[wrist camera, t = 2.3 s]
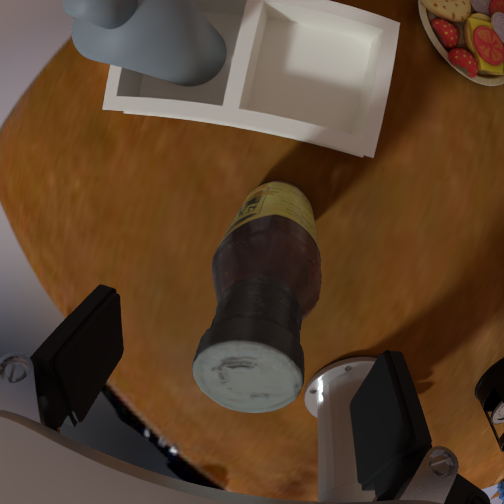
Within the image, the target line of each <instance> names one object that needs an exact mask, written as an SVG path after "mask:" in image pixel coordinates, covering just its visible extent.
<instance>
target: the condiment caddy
mask: <svg viewBox="0 0 504 504" xmlns="http://www.w3.org/2000/svg"><path fill="white" fill-rule="evenodd" d="M63 8H64V11H65V12H66V14H68V15H70V16H73V17H74V18H73V22H72V39H73V42H74V45H75V47H76V49H77V50H78V51H79V53H81V54H82V55H83V56H84V57H86V58H88V59H91V60H94V61H98V62H102V63H107V64H111V65H110V70H109V75H108V80H107V86H106V91H105V97H104V103H103V110H118V111H124V113H127V114H140V115H151V116H161V117H170V118H178V119H186V120H193V121H200V122H207V123H214V124H220V125H226V126H232V127H237V128H243V129H248V130H253V131H258V132H263V133H268V134H273V135H278V136H282V137H287V138H291V139H295V140H299V141H304V142H308V143H312V144H316V145H319V146H323V147H327V148H331V149H334V150H338V151H342V152H345V153H348V154H352V155H355V156H359V157H362V158H363V155H365V156H368V157H371V158H374V154H375V150H376V146H377V142H378V138H379V134H380V129H381V125H382V121H383V116H384V111H385V107H386V102H387V97H388V92H389V87H390V82H391V77H392V71H393V66H394V60H395V54H396V48H397V41H398V34H399V27H400V23H399V22H396V21H394V20H391V19H388V18H385V17H383V16H380V15H377V14H374V13H371V12H368V11H365V10H362V9H358V8H355V7H352V6H348V5H344V4H341V3H337V2H333V1H329V0H64V2H63Z"/></svg>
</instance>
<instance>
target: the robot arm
mask: <svg viewBox="0 0 504 504" xmlns="http://www.w3.org/2000/svg"><path fill="white" fill-rule="evenodd" d="M123 350H124V347H123V336H122V323H121V306H120V295H119V294H117V293H116V290H115V289H114V288H111V287H108V286H105V285H99V286H98V287H97V288H96V289H95V290H94V291H93V292H92V293H91V294H90V295H89V296H88V297H87V298H86V299H85V300H84V301H83V302H82V303H81V304H80V305H79V306H78V307H77V308H76V309H75V310H74V311H73V312H72V313H71V314H70V315H68V317H67V318H66V319H65V320H64V321H63V322H62V323H61V324H60V325H59V326H58V327H57V328H56V329H55V331H53V333H52V334H51V335H50V336H49V337H48V338H47V339H46V340H45V341H44V342H43V344H42V345H41V346H40V347H39V348H38V349H37V350H36V352H35V353H34V354H33V355H32V356H31V357H30V358H29V357H27V356H26V355H25V354H21V353H10V354H7V355H5V356H3V357H2V358H1V359H0V504H490V499H489V497H488V496H487V494H486V493H485V492H483V491H482V490H481V489H479V488H478V487H476V486H475V485H473V484H472V483H471V482H469V481H468V480H466V479H465V478H463V477H462V476H461V475H459V474H458V473H457V472H458V468H459V465H458V460H457V457H456V456H455V454H454V453H453V452H452V451H451V450H450V449H448V448H446V447H444V446H435V447H433V448H432V445H431V442H432V440H431V436H430V433H429V430H428V426H427V423H426V420H425V417H424V414H423V410H422V407H421V404H420V401H419V398H418V395H417V392H416V389H415V387H414V384H413V381H412V378H411V375H410V373H409V370H408V367H407V364H406V362H405V359H404V357H403V354H402V353H401V352H398V351H391V350H386V351H385V352H384V353H381V354H380V355H379V356H378V358H373V357H354V358H348V359H344V360H341V361H338V362H335V363H333V364H330V365H329V366H327V367H325V368H323V369H322V370H320V371H319V372H318V373H317V374H315V375H314V376H313V378H312V379H311V380H310V381H309V383H308V385H307V386H306V390H305V405H306V407H307V409H308V411H309V412H310V413H311V414H312V415H313V416H315V417H316V418H318V502H313V501H296V500H285V499H275V498H266V497H259V496H252V495H245V494H239V493H234V492H228V491H223V490H218V489H214V488H209V487H205V486H200V485H196V484H192V483H188V482H185V481H181V480H177V479H174V478H170V477H167V476H164V475H160V474H157V473H154V472H151V471H148V470H145V469H142V468H139V467H137V466H134V465H131V464H128V463H126V462H123V461H120V460H118V459H116V458H113V457H111V456H108V455H106V454H104V453H101V452H99V451H97V450H94V449H92V448H90V447H87V446H85V445H83V444H81V443H79V442H77V441H74V440H72V439H70V438H68V437H66V436H64V435H62V434H61V432H60V428H59V427H61V425H62V424H63V422H64V423H66V424H68V425H70V426H72V427H75V425H76V424H77V422H82V421H83V420H84V418H85V416H86V415H87V413H88V411H89V409H90V408H91V406H92V404H93V403H94V401H95V399H96V398H97V396H98V394H99V393H100V391H101V390H102V388H103V386H104V385H105V383H106V381H107V380H108V378H109V377H110V375H111V373H112V372H113V370H114V369H115V367H116V365H117V364H118V362H119V361H120V359H121V357H122V355H123Z"/></svg>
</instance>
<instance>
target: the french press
mask: <svg viewBox="0 0 504 504" xmlns="http://www.w3.org/2000/svg"><path fill="white" fill-rule="evenodd" d="M494 388H496V390H497V392H495V393H493V394H490V392H491V391H492V390H493V389H494ZM489 394H490V395H489ZM475 396H476V398H477V399H478V400H479V401H480V403H481V406H482V408H483V410H484V412H485V414H486V416H487V419H488V421H489V423H490V425H491V428H492V430H493V432H494V435H495V437H496V440H497V442H498V444H499V447H500V449H501V451H502V452H504V433H503V434H502V436H501V437H500V439H499V437H498V435H497V432H496V430H495V428H494V426H493V424H500V423H503V422H504V359H502V360H500V361H499V362H497V363H496V364H494V365H493V366H492V367H491V368H490V369H489V370H487V371H486V373H485V374H484V375H483V376H482V377H481V379H480V380H479V382H478V383H477V385H476V388H475ZM488 412H492V413H491V417H489V414H488Z"/></svg>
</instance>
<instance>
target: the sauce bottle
mask: <svg viewBox="0 0 504 504" xmlns="http://www.w3.org/2000/svg"><path fill="white" fill-rule="evenodd" d="M320 266H321V257H320V251H319V244H318V238H317V232H316V227H315V221H314V215H313V210H312V206H311V204H310V202H309V201H308V198H307V197H306V196H305V194H304V193H303V192H302V191H301V190H299V189H298V188H297V187H296V186H294V185H292V184H290V183H288V182H284V181H272V182H268V183H264V184H262V185H260V186H259V187H257V188H256V189H254V190H253V191H252V192H251V193H250V194H249V195H248V196H247V198H246V199H245V201H244V203H243V204H242V206H241V208H240V209H239V211H238V213H237V214H236V216H235V218H234V219H233V221H232V223H231V224H230V226H229V228H228V230H227V231H226V234H225V236H224V237H223V239H222V241H221V242H220V244H219V246H218V248H217V250H216V252H215V254H214V257H213V261H212V275H213V281H214V286H215V291H216V297H217V302H218V305H217V308H216V315H215V318H214V319H213V322H212V325H211V327H210V328H209V329H207V330H206V332H205V334H204V335H203V336H202V338H201V340H200V343H199V346H198V348H197V351H196V355H195V358H194V360H193V367H192V369H193V376H194V378H195V380H196V382H197V384H198V386H199V388H200V389H201V390H202V391H203V392H204V393H205V394H206V395H207V396H209V397H210V398H211V399H212V400H214V401H215V402H216V403H218V404H219V405H221V406H224V407H226V408H229V409H231V410H237V411H240V412H247V413H263V412H268V411H275V410H277V409H279V408H283V407H285V406H286V405H288V404H290V403H291V402H293V401H294V400H295V399H296V398H297V396H298V395H299V393H300V391H301V389H302V386H303V384H304V353H303V350H302V347H301V345H300V329H301V323H302V320H303V319H304V318H305V317H307V315H308V314H309V313H310V312H311V310H312V309H313V308H314V307H315V305H316V303H317V301H318V300H319V294H320V289H321V277H322V275H321V269H320Z"/></svg>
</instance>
